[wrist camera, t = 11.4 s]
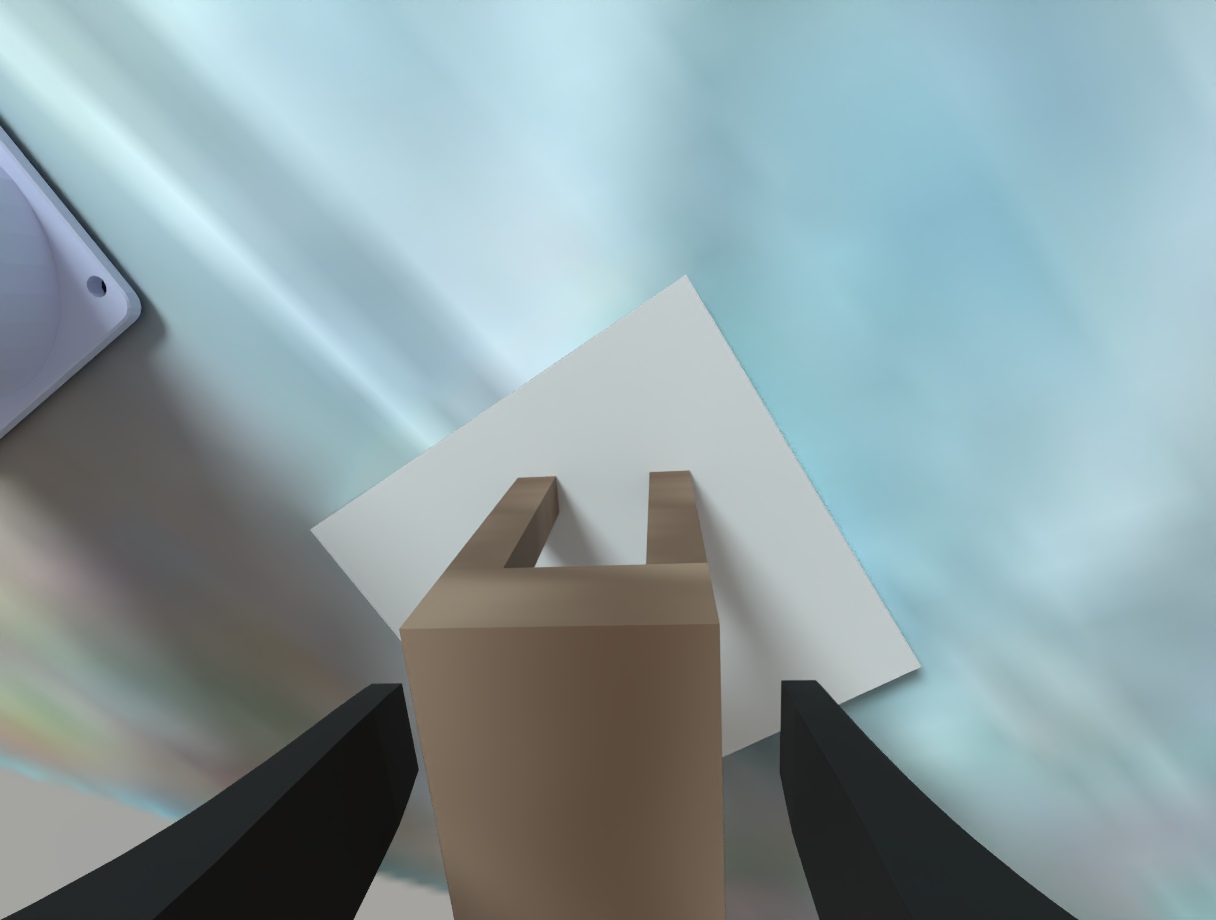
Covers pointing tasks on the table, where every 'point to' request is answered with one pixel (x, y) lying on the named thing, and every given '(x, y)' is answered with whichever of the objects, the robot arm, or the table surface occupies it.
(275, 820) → the robot arm
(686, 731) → the brown forked block
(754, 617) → the mat
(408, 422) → the table surface
